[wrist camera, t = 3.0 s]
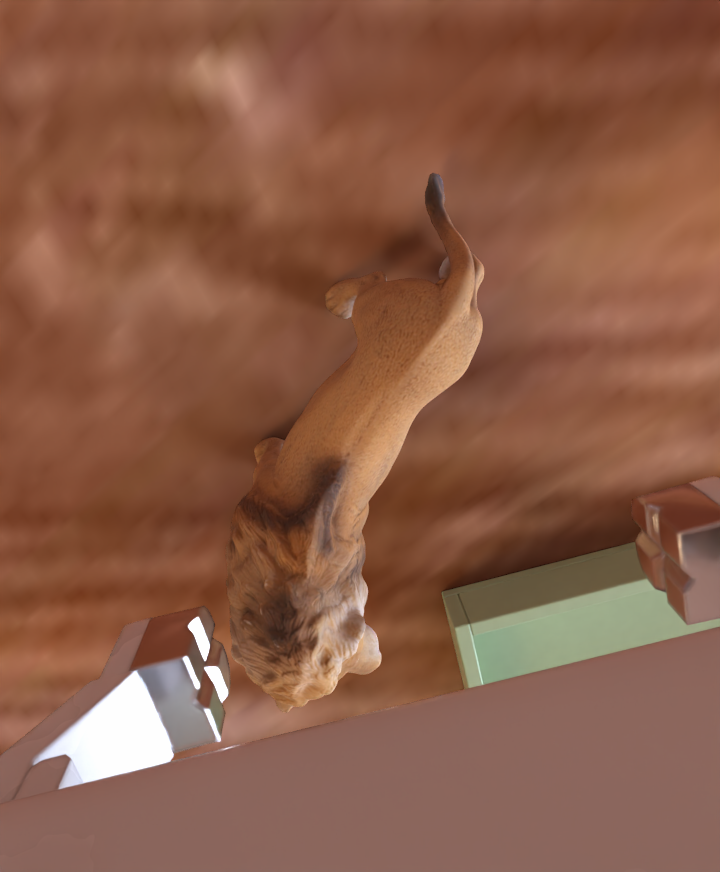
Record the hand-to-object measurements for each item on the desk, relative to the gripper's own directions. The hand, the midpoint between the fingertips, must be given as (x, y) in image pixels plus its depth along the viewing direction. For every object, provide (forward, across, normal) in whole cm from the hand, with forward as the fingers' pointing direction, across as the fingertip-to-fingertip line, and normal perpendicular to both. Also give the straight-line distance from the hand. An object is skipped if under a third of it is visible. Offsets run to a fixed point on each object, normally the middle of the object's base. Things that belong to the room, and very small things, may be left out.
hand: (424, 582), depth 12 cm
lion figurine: (+12, +1, 0) cm, 12 cm away
